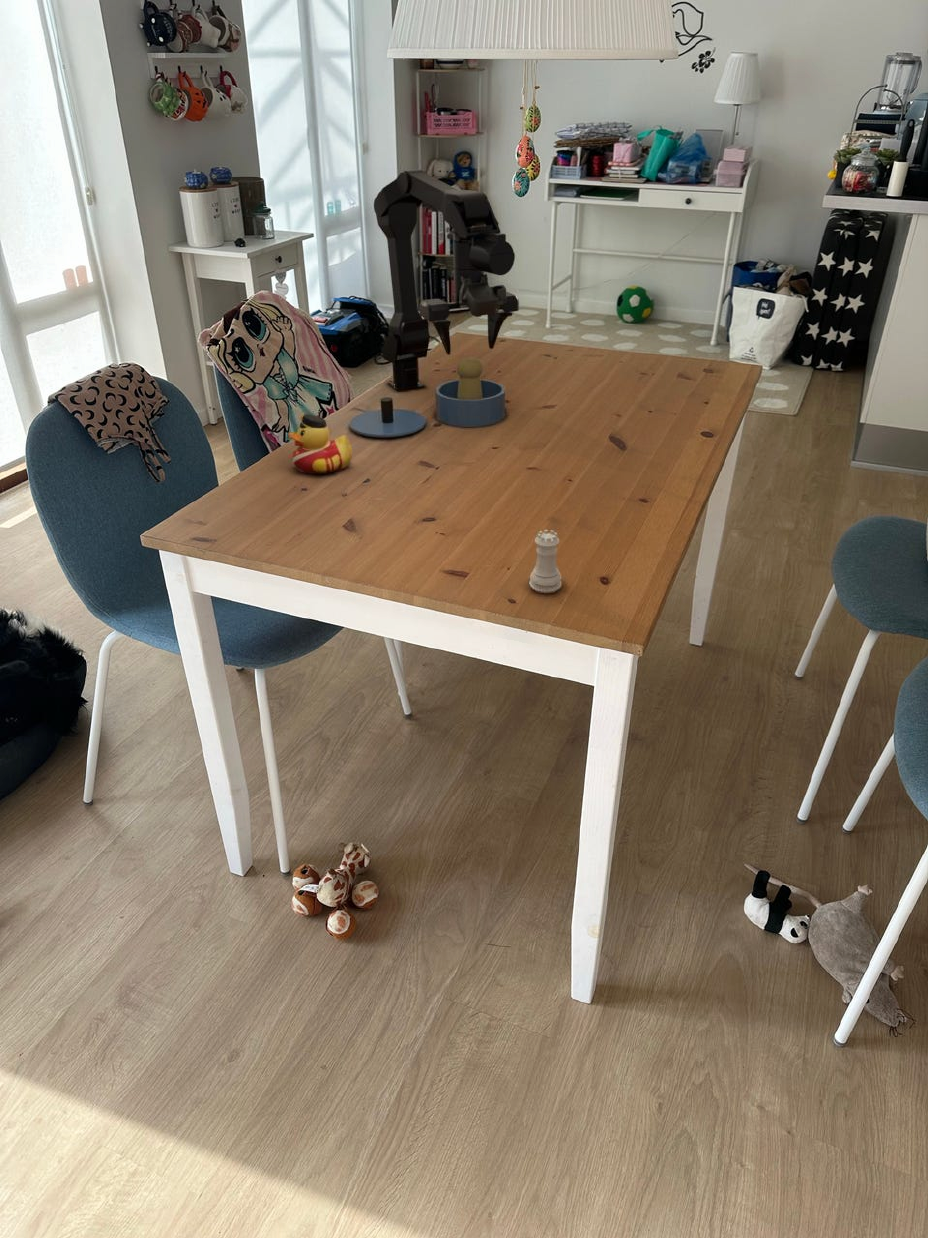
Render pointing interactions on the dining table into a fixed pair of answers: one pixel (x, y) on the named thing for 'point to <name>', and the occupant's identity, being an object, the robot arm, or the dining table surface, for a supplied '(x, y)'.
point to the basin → (470, 405)
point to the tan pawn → (469, 379)
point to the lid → (387, 421)
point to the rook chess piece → (546, 564)
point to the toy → (318, 447)
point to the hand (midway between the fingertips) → (469, 351)
